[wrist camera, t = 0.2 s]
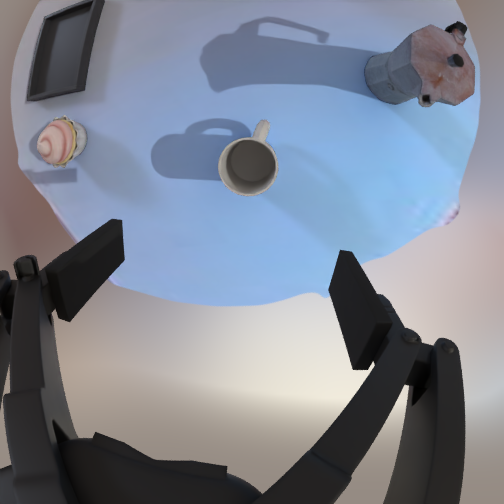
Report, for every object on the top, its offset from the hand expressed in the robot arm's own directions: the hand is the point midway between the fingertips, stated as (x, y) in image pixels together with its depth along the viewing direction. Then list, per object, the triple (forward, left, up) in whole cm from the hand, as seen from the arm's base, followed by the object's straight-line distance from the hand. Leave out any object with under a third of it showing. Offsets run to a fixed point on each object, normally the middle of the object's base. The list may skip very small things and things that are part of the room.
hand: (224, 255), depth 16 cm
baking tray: (-24, -39, -28) cm, 54 cm away
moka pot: (-21, +19, -28) cm, 40 cm away
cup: (-4, 0, -28) cm, 28 cm away
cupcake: (-5, -33, -28) cm, 44 cm away
